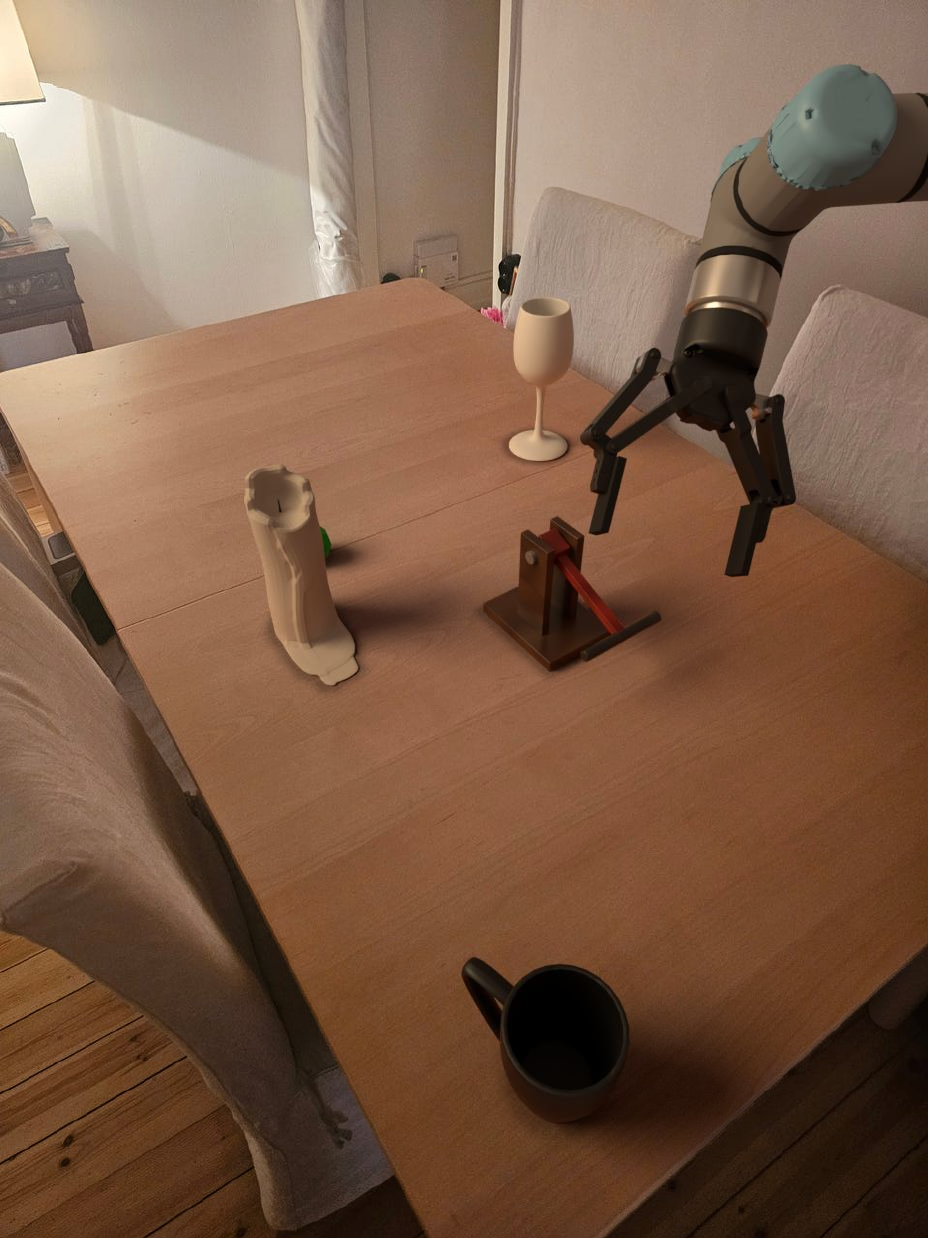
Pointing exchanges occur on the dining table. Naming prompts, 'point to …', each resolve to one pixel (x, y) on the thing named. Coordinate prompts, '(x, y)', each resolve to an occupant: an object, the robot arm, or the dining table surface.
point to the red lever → (595, 601)
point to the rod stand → (547, 602)
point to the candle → (297, 573)
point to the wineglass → (542, 367)
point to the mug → (554, 1035)
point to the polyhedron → (325, 542)
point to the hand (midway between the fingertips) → (668, 555)
